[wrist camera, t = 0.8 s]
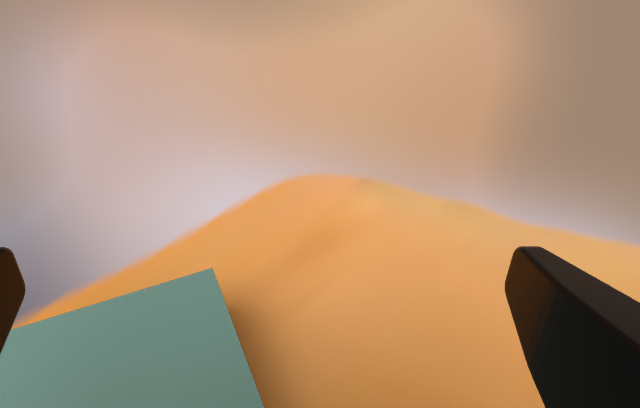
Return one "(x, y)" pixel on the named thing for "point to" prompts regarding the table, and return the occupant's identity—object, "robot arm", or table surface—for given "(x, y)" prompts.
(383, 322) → the table surface
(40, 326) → the bar
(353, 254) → the table surface
